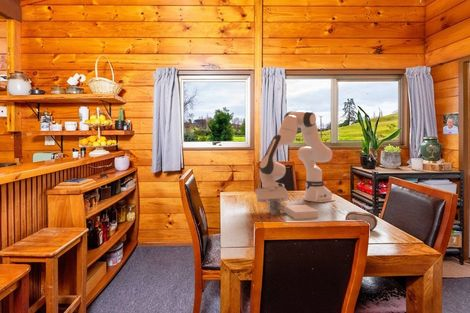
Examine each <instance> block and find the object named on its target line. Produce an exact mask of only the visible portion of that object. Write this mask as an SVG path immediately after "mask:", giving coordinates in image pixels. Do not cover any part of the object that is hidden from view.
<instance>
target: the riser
mask: <svg viewBox="0 0 470 313" xmlns="http://www.w3.org/2000/svg"><path fill="white" fill-rule="evenodd" d="M283 208H284V212H283V213H285V214H286V215H288V216H290V217H291V218H293V219H294V218H295V219H294V220H303V219H304V220H305V218H306V219H316V218H317V219H318V218H319V210H317V209H315V208H313V207H311V206H309V205H307V204H293V205H292V204H291V205H284V207H283Z"/></svg>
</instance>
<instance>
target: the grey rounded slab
mask: <svg viewBox="0 0 470 313" xmlns="http://www.w3.org/2000/svg"><path fill="white" fill-rule="evenodd" d="M345 220H363V221H366V222H367V223H369V224H370V231H373V230H374V229H375V228H377V225H378V219H377V218H376V216H375V215H373V214H372V213H367V212H360V211H350V212H348V213H347V214H346V216H345Z"/></svg>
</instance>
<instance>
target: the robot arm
mask: <svg viewBox="0 0 470 313" xmlns="http://www.w3.org/2000/svg"><path fill="white" fill-rule="evenodd" d="M316 120H317V118H316V115H315V113H314V112H313V111H311V110H307V111H306V110H296V111H288V112H286V113H285V114H284V117H283V120H282V122H281V125H280V127H279V131H278V133H277V134H276V135H274V136H273V138H272V139H271V141H270V143H269V146H268V147H267V149H266V152H265V153H264V156H263V158H262V159H261V161H260V162H259V172H258V173H259V178H260V182H261V186H262V187H259V188H258V187H257V188H255V189H254V193H255V198H256V201H257V202H258V203H265V205H267V206H268V208H270V207H272V205H271V204H270V201H278V202H280V208H282V202H287V201H288V200H289V199H290V195H289V192H288V190H287V189H286V188H285V184H284V183H280V182H276V181H278V180H281V179H282V178H284V176H286V173H287V169H286V165H285V164H282V163H280V162H278V161H276V160H275V159H274V158H275V155H276V154H277V151H278V149H279V148H280V147H281V146H289V145H291V144H293V143H294V141H295V140H296V137H297V133H298V128H299V129H300V131H301V135H302V139H303V142H304V144H305V145H307V146H301V147H300V148H299V149H298V150H297V157H298V159H299V160H300V161H301V162H302V164H303V165H304V168H305V173H306V174H305V175H306V178H305V191H304V196H303V200H305V201H307V202H315V203H327V202H335V201H336V198H334V197H333V194H332V191H331V190H329V189H328V188H327V187H326V186H325V185H327V184H328V183H327V181H324V180H323V170H322V169H321V168H320V167H319V166H318V165H317V164H316V163H327V162H330V161H331V160H332V158H333V151H332V149H331V148H330V147H328V146H327V145H325V144H324V142H323V141H322V140H321V137H320V135H319V134H320V133H319V131H318V126H317V123H316Z"/></svg>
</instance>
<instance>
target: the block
mask: <svg viewBox="0 0 470 313" xmlns="http://www.w3.org/2000/svg"><path fill="white" fill-rule="evenodd" d="M269 203H270V204H271V205H272V207H269V214H270V215H272V216H277V215H278V216H279V215H281V207H280V202H279V201H270V202H269Z"/></svg>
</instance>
